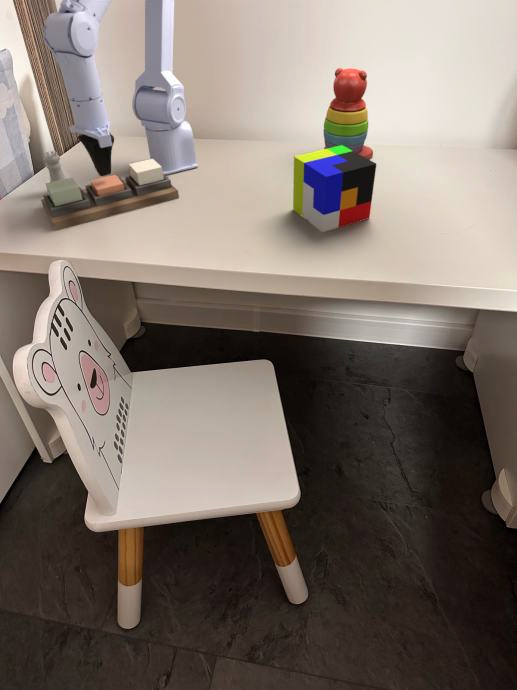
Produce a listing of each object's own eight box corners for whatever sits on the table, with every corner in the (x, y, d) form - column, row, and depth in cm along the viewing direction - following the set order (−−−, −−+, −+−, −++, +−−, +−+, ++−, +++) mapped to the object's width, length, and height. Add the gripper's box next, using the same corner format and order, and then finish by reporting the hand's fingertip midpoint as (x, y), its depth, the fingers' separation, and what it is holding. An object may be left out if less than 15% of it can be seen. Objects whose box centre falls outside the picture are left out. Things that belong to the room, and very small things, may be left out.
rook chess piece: (66, 198, 99) (54, 158, 94) (46, 196, 100) (33, 157, 95) (77, 188, 103) (66, 149, 97) (57, 187, 103) (45, 148, 98)
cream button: (154, 170, 101) (152, 158, 99) (163, 179, 97) (161, 167, 96) (131, 176, 99) (128, 164, 97) (139, 185, 96) (137, 172, 94)
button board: (158, 178, 105) (156, 164, 103) (179, 197, 98) (176, 183, 96) (43, 206, 97) (38, 192, 95) (55, 230, 90) (50, 215, 88)
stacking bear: (375, 154, 112) (387, 65, 100) (357, 170, 105) (366, 77, 93) (332, 146, 116) (337, 60, 104) (311, 161, 110) (315, 71, 98)
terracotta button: (118, 186, 99) (115, 174, 97) (126, 196, 96) (123, 183, 94) (93, 192, 97) (90, 180, 95) (100, 202, 94) (97, 189, 92)
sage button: (76, 189, 95) (72, 177, 93) (82, 199, 92) (79, 186, 90) (49, 196, 93) (45, 183, 92) (55, 206, 90) (51, 193, 88)
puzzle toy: (322, 232, 86) (325, 176, 80) (293, 209, 93) (294, 156, 86) (369, 218, 89) (376, 163, 83) (337, 197, 96) (341, 145, 90)
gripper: (52, 90, 88) (74, 166, 97) (72, 111, 78) (94, 193, 88) (91, 83, 90) (109, 158, 100) (116, 103, 81) (132, 183, 90)
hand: (104, 174), depth 94 cm, fingers closed
